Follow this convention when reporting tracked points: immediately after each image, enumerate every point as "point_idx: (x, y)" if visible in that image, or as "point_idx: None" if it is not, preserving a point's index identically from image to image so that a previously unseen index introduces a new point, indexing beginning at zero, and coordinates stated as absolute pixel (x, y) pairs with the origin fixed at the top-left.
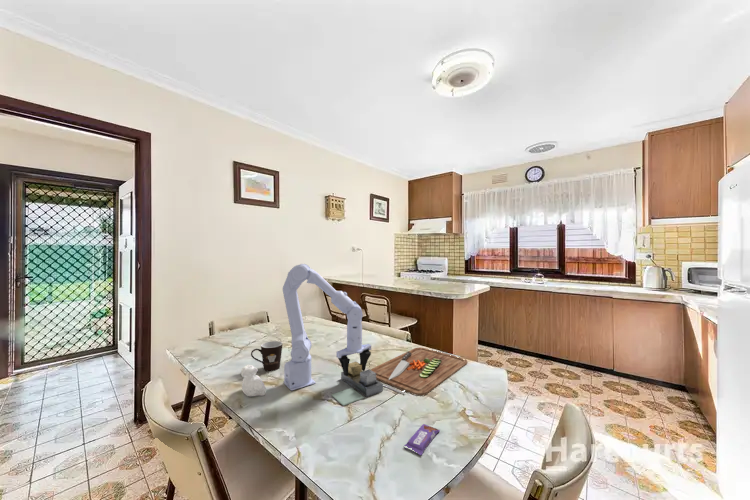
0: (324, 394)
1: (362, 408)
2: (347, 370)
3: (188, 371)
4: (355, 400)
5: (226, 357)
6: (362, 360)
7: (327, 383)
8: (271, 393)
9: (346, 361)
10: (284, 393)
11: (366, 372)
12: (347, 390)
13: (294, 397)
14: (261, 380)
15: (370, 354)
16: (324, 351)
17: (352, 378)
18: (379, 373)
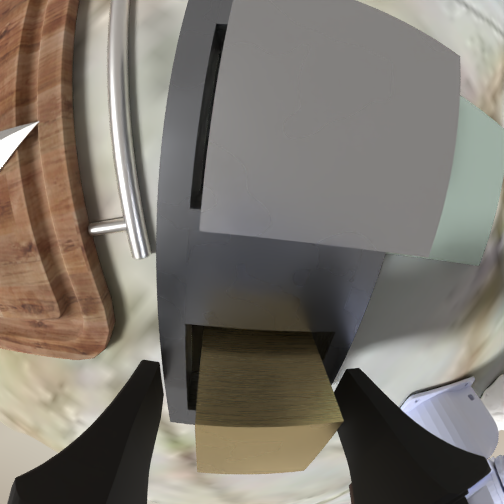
0: (473, 295)
1: (460, 27)
2: (382, 402)
3: None
4: (461, 97)
5: None
6: (139, 462)
7: (385, 379)
8: (486, 381)
9: (467, 465)
10: (484, 370)
11: (381, 151)
12: None
13: (499, 335)
14: (497, 414)
15: (18, 484)
16: (184, 499)
17: (345, 320)
18: (35, 272)
